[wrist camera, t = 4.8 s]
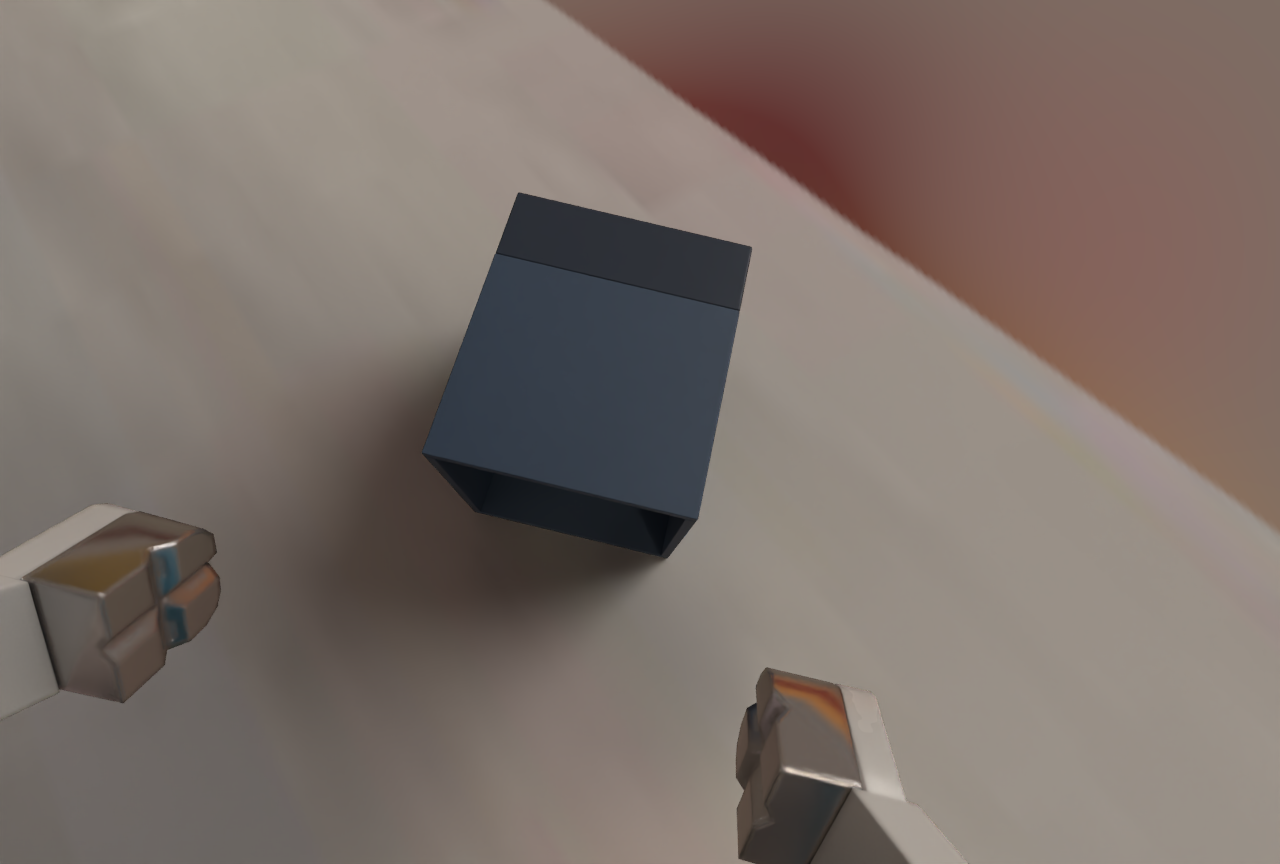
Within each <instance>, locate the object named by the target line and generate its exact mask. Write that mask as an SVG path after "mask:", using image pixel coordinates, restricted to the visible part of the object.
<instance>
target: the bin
mask: <svg viewBox="0 0 1280 864" xmlns="http://www.w3.org/2000/svg"><path fill="white" fill-rule="evenodd" d="M751 252H752V247H750V246H746V245H742V244H737V243H733V242H729V241H724V240H720V239H716V238H712V237H707V236H703V235H699V234H695V233H690V232H686V231H682V230H677V229H673V228H669V227H665V226H660V225H656V224H652V223H648V222H643V221H639V220H635V219H630V218H626V217H622V216H618V215H613V214H609V213H605V212H601V211H596V210H592V209H588V208H583V207H579V206H575V205H571V204H566V203H562V202H558V201H554V200H549V199H545V198H541V197H536V196H532V195H528V194H524V193H518V194H517V197H516V200H515V202H514V205H513V208H512V210H511V213H510V216H509V219H508V221H507V224H506V227H505V229H504V232H503V235H502V238H501V240H500V243H499V246H498V248H497V251H496V254H495V256H494V258H493V261H492V264H491V266H490V269H489V272H488V274H487V277H486V280H485V283H484V285H483V288H482V291H481V293H480V296H479V299H478V302H477V304H476V307H475V310H474V312H473V315H472V318H471V320H470V323H469V326H468V329H467V331H466V334H465V337H464V339H463V342H462V345H461V348H460V350H459V353H458V356H457V358H456V361H455V364H454V366H453V369H452V372H451V375H450V377H449V380H448V383H447V385H446V388H445V391H444V394H443V396H442V399H441V402H440V404H439V407H438V410H437V412H436V415H435V418H434V421H433V423H432V426H431V429H430V431H429V434H428V437H427V440H426V442H425V445H424V448H423V450H422V454H423V455H424V456H425V457H426V458H427V459H428V460H429V462H430V463H431V464H432V465H433V466H434V467H435V468H436V469H437V470H438V471H439V473H440V474H441V475H442V476H443V477H444V478H445V479H446V480H447V481H448V482H449V484H450V485H451V486H452V487H453V488H454V489H455V490H456V491H457V492H458V494H459V495H460V496H461V497H462V498H463V499H464V500H465V501H466V502H467V503H468V505H469V506H470V507H471V508H472V509H473V510H474V511H475V512H478V513H482V514H486V515H490V516H494V517H499V518H503V519H507V520H511V521H515V522H519V523H523V524H527V525H532V526H536V527H540V528H544V529H548V530H552V531H556V532H560V533H564V534H569V535H573V536H577V537H581V538H585V539H589V540H593V541H597V542H602V543H606V544H610V545H614V546H618V547H622V548H626V549H630V550H635V551H639V552H643V553H647V554H651V555H655V556H659V557H663V558H668V557H669V556H670V554H671V553H672V552H673V551H674V549H675V548H676V547H677V545H678V544H679V543H680V542H681V540H682V539H683V538H684V536H685V535H686V534H687V532H688V531H689V530H690V529H691V527H692V526H693V525H694V523H695V522H696V521H697V519H698V516H699V511H700V506H701V501H702V496H703V491H704V486H705V481H706V476H707V471H708V466H709V461H710V456H711V452H712V447H713V442H714V437H715V432H716V427H717V422H718V417H719V412H720V407H721V402H722V397H723V392H724V387H725V382H726V377H727V372H728V367H729V362H730V357H731V352H732V347H733V342H734V337H735V332H736V327H737V322H738V317H739V311H740V307H741V302H742V297H743V292H744V287H745V282H746V277H747V272H748V267H749V262H750V257H751Z"/></svg>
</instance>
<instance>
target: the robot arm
mask: <svg viewBox="0 0 1280 864" xmlns="http://www.w3.org/2000/svg"><path fill="white" fill-rule="evenodd" d="M216 553H217V550H216V544H215V538H214V534H213V533H211V532H209V531H207V530H205V529H203V528H199V527H196V526H192V525H188V524H185V523H181V522H177V521H174V520H170V519H167V518H163V517H159V516H156V515H152V514H148V513H145V512H141V511H139V512H138V511H134V510H131V509H127V508H123V507H120V506H116V505H113V504H109V503H103V504H96V505H91V506H89V507H87V508H85V509H83V510H82V511H80V512H78V513H76V514H75V515H73V516H71V517H69V518H67V519H66V520H64V521H62V522H60V523H59V524H57V525H55V526H53V527H51V528H50V529H48V530H46V531H44V532H43V533H41V534H39V535H37V536H35V537H34V538H32V539H30V540H28V541H27V542H25V543H23V544H21V545H19V546H18V547H16V548H14V549H12V550H10V551H9V552H7V553H5V554H3V555H2V556H0V721H1V720H3V719H5V718H7V717H10V716H12V715H14V714H16V713H18V712H20V711H22V710H24V709H26V708H29V707H31V706H33V705H35V704H37V703H39V702H41V701H43V700H45V699H48V698H50V697H52V696H54V695H56V694H58V693H59V689H61V690H66V691H70V692H75V693H79V694H84V695H88V696H93V697H97V698H102V699H106V700H111V701H116V702H120V703H124V702H125V701H126V700H128V699H129V698H130V697H131V696H132V695H133V694H134V693H135V692H136V691H137V690H138V689H139V688H141V687H142V686H143V685H144V684H145V683H146V682H147V681H148V680H149V679H150V678H151V677H152V676H154V675H155V674H156V673H157V672H158V671H159V670H160V669H161V668H162V667H163V666H164V665H165V661H166V655H167V650H169V649H171V648H174V647H177V646H179V645H182V644H184V643H187V642H189V641H191V640H192V639H193V638H194V637H195V636H196V635H197V634H198V633H199V632H200V631H201V630H202V629H203V628H204V627H205V626H206V625H207V624H208V622H209V620H210V619H211V617H212V615H213V613H214V612H215V610H216V608H217V607H218V602H219V598H220V593H221V586H220V577H219V576H218V574H217V573H216V572H215V570H214V569H213V568H212V567H211V565H210V564H209V563H208V562H209V561H210V560H211V559H212V558H213V557H214V555H215V554H216ZM756 698H757V703H755V704H753V705H752V706H750V707H748V708H747V709H746V712H745V715H744V718H743V720H742V723H741V727H740V732H739V736H738V741H737V750H736V778H737V780H738V781H739V783H740V785H741V786H742V788H743V789H744V793H743V795H742V797H741V800H740V802H739V805H738V807H737V830H738V859H741V860H745V861H748V862H752V863H755V864H968V862H967V861H966V860H965V859H964V858H963V856H962V855H961V854H960V853H959V852H958V851H957V849H956V848H955V847H954V846H953V845H952V844H951V842H950V841H949V840H948V839H947V838H946V837H945V835H944V834H943V833H942V832H941V831H940V829H939V828H938V827H937V826H936V825H935V824H934V822H933V821H932V820H931V819H930V818H929V817H928V815H927V814H926V813H925V812H924V811H923V810H922V808H921V807H920V806H919V805H918V804H914V803H911V802H907V800H906V797H905V793H904V790H903V787H902V783H901V780H900V776H899V773H898V770H897V766H896V763H895V759H894V756H893V753H892V749H891V746H890V742H889V739H888V736H887V732H886V729H885V725H884V722H883V719H882V715H881V712H880V708H879V705H878V702H877V698H876V697H875V696H874V695H873V693H872V692H871V691H866V690H862V689H858V688H853V687H849V686H845V685H840V684H833V683H830V682H826V681H822V680H818V679H814V678H809V677H805V676H801V675H797V674H793V673H788V672H784V671H780V670H776V669H771V668H767V667H766V668H765V669H764V671H763V672H762V673H761V675H760V677H759V680H758V682H757V685H756Z"/></svg>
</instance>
